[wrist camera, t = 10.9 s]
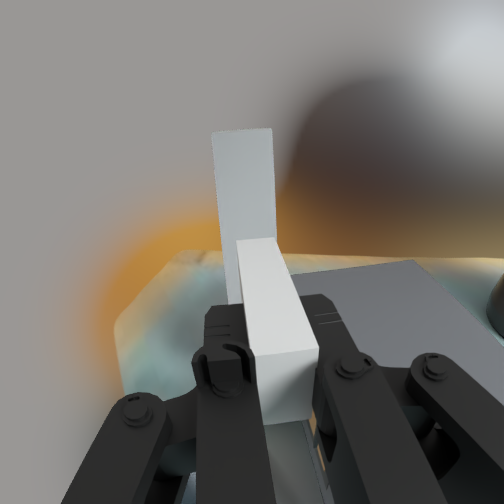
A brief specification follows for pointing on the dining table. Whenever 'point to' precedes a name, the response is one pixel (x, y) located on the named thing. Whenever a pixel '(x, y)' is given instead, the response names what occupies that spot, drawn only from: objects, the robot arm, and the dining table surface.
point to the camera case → (403, 327)
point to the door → (243, 194)
